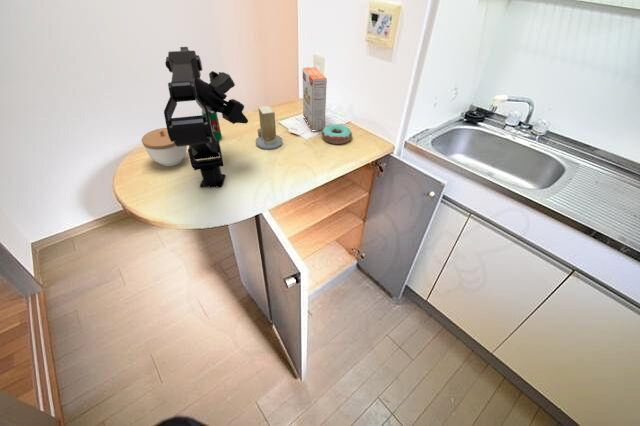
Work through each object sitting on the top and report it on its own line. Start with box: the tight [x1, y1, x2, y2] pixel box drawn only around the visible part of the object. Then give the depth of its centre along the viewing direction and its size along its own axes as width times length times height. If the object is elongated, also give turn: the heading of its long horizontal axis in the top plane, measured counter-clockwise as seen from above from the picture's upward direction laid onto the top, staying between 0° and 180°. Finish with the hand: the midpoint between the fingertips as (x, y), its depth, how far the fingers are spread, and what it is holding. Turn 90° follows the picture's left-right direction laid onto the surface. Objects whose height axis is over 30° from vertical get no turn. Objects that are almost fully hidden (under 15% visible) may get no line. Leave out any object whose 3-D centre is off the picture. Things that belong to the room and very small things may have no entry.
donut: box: [321, 123, 353, 145], centre depth 114 cm, size 12×12×4 cm
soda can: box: [201, 109, 223, 142], centre depth 108 cm, size 5×5×12 cm
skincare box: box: [258, 105, 277, 145], centre depth 106 cm, size 6×4×12 cm
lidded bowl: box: [141, 127, 188, 167], centre depth 96 cm, size 13×13×11 cm
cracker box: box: [302, 66, 327, 132], centre depth 117 cm, size 14×6×21 cm, turn 17°
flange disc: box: [255, 128, 283, 151], centre depth 110 cm, size 10×10×4 cm
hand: (238, 117), depth 95 cm, fingers open, 9 cm apart
